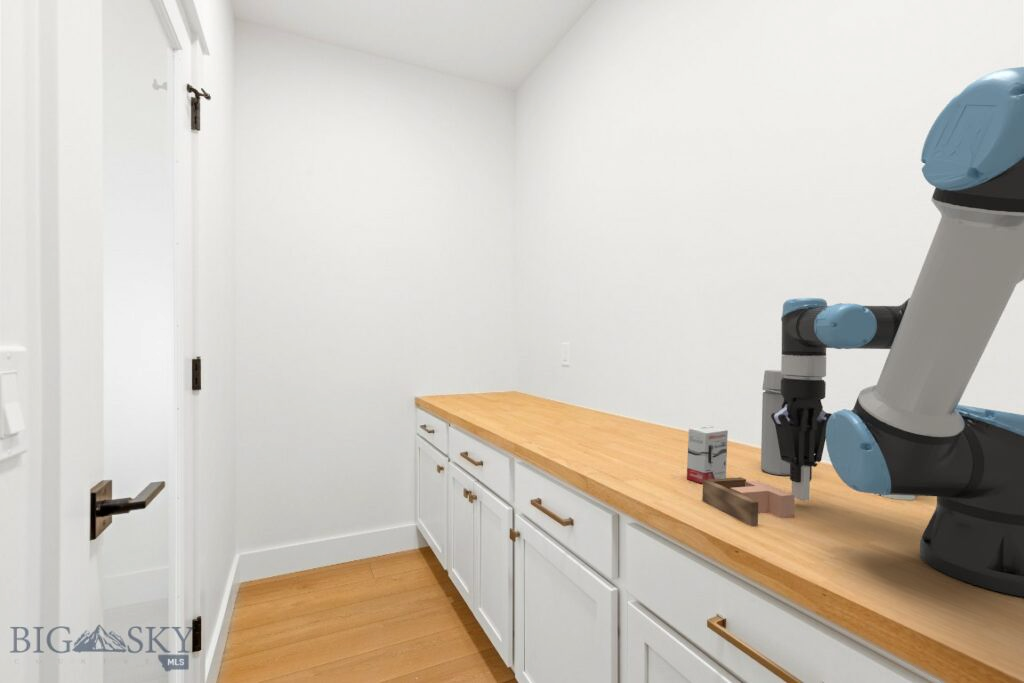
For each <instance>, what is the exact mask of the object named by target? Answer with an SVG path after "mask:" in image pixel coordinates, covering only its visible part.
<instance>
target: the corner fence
mask: <svg viewBox="0 0 1024 683" xmlns="http://www.w3.org/2000/svg"><path fill="white" fill-rule="evenodd" d="M745 481H747V479H746V478H744V477H726V478H723V479H708V480H705V481H703V484H702V500H701V501H702V502H704V503H706V504H708V505H710V506H712V507H714V508H716V509H718V510H720V511H722V512H724V513H726V514H727V515H729V516H732V517H733V518H735V519H737V520H739V521H741V522H743V523H745V524H747V525H749V526H758V525H759V513H758V502H757V501H755V500H753V499H750V498H748V497H746V496H744V495H741V494H739V493H737V492H735V491H732V490H730V488H734V487H745Z"/></svg>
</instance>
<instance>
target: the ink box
mask: <svg viewBox="0 0 1024 683" xmlns="http://www.w3.org/2000/svg"><path fill="white" fill-rule="evenodd" d="M687 438H688V442H687V458H686V459H687V462H686V463H687V464H686V480H689V481H692V482H696V483H698V484H702V485H703V481H705V480H708V479H723V478H727V457H728V429H724V428H719V427H716V426H712V425H706V426H699V427H698V426H697V427H690V428H689V429H688V437H687Z"/></svg>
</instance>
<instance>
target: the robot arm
mask: <svg viewBox="0 0 1024 683" xmlns="http://www.w3.org/2000/svg"><path fill="white" fill-rule="evenodd" d="M920 161H921V163H923V164H924V165H923V166H922V168H921V172H922V176H923V177H924V179H925V180H926V182H928V184H930V185H931V186H933V187H934V191H933V194H932V197H931V202H932V203H933V204H934V206H935V207H936V209H937V210H938V211H939V213H940V215H941V218H940V221H939V223H938V225H937V228H936V231H935V233H934V236H933V239H932V241H931V242H930V246H929V248H928V250H927V254H926V256H925V259H924V262H923V263H922V267H921V269H920V272H919V274H918V277H917V279H916V282H915V285H914V287H913V290H912V293H911V295H910V297H909V298H908V299H906V300H905V301H904V302H903V303H902V304H900V305H862V304H858V303H840V302H839V303H835V304H832V305H828V303H827V300H825V299H824V298H819V297H818V298H817V297H802V298H801V297H800V298H789V299H787V300H785V301H784V302H783V304H782V312H781V313H782V314H781V319H780V320H781V360H780V362H781V365H780V368H781V374H782V375H785V378H782V379H781V395H782V396H783V398H784V401H783V404H782V410H781V411H779V412H778V413H772V414H771V418H772V420H773V422H774V424H775V427H776V433H777V438H778V444H779V450H780V455H781V460H783V461H786V462H787V463H789V464H790V475H789V479H790V481H791V494H793V495H794V499H797V500H800V501H804V502H805V501H809V500H810V491H811V490H810V487H811V486H810V482H811V481H812V472H813V470H812V468H815V467H818V463H820V462H821V461H822V458H823V453H824V448H825V444H826V450H827V453H828V457H829V460H830V463H831V465H832V467H833V469H834V471H835V473H836V474H837V475H838V477H839V478H840V480H841V481H842V482H843V483H844V484H845V485H846V486H848V487H849V488H851V489H852V490H854V491H856V492H859V493H864V494H873V495H876V494H879V495H882V496H884V495H914V496H915V497H916V496H917V497H918V496H919V497H936V505H935V509H934V511H933V513H932V514H931V517H930V520H929V522H927V523H928V524H927V525H926V528H925V529H924V530H923V533H922V535H921V538H920V541H919V557H920V558H921V559H922V560H923V561H924V562H925V563H926V564H927V565H929V566H930V567H932V568H934V569H935V570H938V571H939V572H940V573H943V574H946V575H947V576H950V577H953V578H955V579H956V580H957V579H958V580H959V581H962V582H965V583H969V584H972V585H974V586H978V587H980V588H984V589H987V590H990V591H991V590H992V591H995V592H999V593H1003V594H1007V595H1012V596H1017V597H1021V598H1022V597H1023V598H1024V414H1021V413H1020V414H1019V413H1012V412H1007V411H1000V410H994V409H988V408H982V407H974V406H968V405H962V404H960V401H961V399H962V398H963V394H964V393H965V391H966V389H967V387H968V385H969V383H970V381H971V378H972V376H973V374H974V372H975V370H976V368H977V366H978V364H979V362H980V361H981V358H982V356H983V355H984V352H985V350H986V348H987V346H988V343H989V341H990V340H991V338H992V336H993V334H994V331H995V330H996V327H997V325H998V324H999V321H1000V320H1001V317H1002V315H1003V313H1004V311H1005V309H1006V307H1007V304H1008V303H1009V301H1010V299H1011V297H1012V295H1013V292H1014V290H1015V288H1016V287H1017V284H1019V283H1021V282H1022V281H1024V66H1020V67H1009V68H1003V69H1000V70H997V71H994V72H991V73H988V74H986V75H984V76H981V77H980V78H978V79H976V80H975V81H973V82H971V83H970V84H969V85H967V86H965V88H964V89H963V90H962V91H961V92H960V93H958V94H957V95H955V96H954V97H953V98H952V99H951V100H949V102H948V103H947V104H946V106H945V107H944V108H943V109H942V111H941V112H939V114H938V116H937V117H936V118H935V121H934V122H933V124H932V125H931V127H930V130H928V133H927V136H926V138H925V141H924V143H923V147H922V149H921V158H920ZM827 349H836V350H842V349H843V350H844V349H845V350H852V349H855V350H856V349H858V350H859V349H861V350H862V349H863V350H865V349H866V350H867V349H868V350H871V349H872V350H877V349H878V350H889V351H888V355H887V357H886V359H885V362H884V364H883V366H882V367H883V368H882V370H881V372H880V375H879V378H878V380H877V383H876V385H872V386H868V387H865V388H863V389H862V390H861V391H859V393H858V396H857V399H856V401H855V403H854V406H853V408H852V409H851V410H849V409H846V408H843V409H841V410H837V411H836V412H833V413H830V412H826V411H825V410H823V408H824V406H823V404H822V400H824V399H825V398H826V392H827V391H826V386H827V384H826V381H825V380H824V379H823V378H826V377H827ZM879 495H878V496H879ZM882 496H881V497H882Z"/></svg>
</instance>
